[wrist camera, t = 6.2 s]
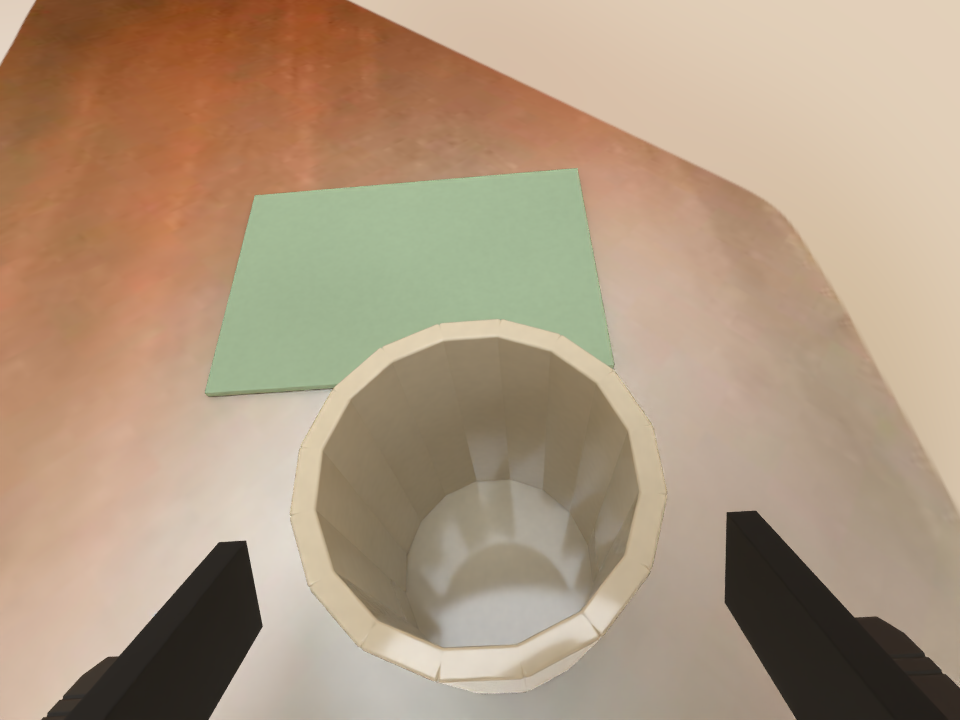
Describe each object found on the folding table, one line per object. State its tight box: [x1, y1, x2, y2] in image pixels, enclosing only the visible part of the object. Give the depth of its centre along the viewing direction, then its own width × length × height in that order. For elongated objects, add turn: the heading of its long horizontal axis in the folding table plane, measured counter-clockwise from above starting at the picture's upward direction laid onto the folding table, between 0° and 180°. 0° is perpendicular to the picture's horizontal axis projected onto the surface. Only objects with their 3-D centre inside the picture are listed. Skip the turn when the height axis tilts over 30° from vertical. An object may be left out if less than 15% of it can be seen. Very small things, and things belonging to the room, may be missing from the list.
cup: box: [290, 319, 667, 694], centre depth 18 cm, size 8×8×12 cm
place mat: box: [205, 168, 614, 397], centre depth 31 cm, size 20×14×1 cm
